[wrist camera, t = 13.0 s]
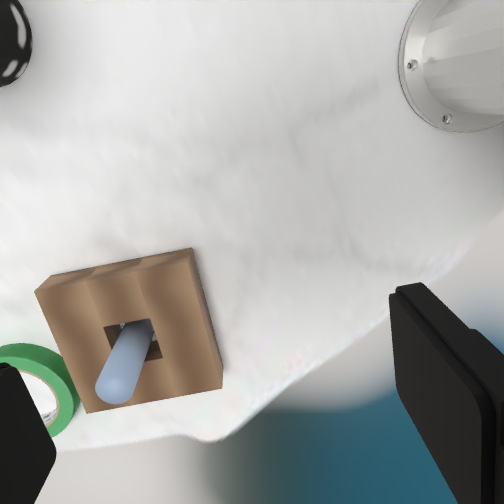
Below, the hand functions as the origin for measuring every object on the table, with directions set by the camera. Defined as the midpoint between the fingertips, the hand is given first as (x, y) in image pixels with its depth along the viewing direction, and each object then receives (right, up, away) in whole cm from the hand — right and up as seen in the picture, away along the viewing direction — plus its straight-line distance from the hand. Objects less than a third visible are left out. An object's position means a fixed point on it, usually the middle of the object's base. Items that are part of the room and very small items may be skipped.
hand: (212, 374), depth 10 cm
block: (-10, -4, +31) cm, 33 cm away
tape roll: (-23, -11, +34) cm, 43 cm away
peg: (-10, -4, +31) cm, 33 cm away
